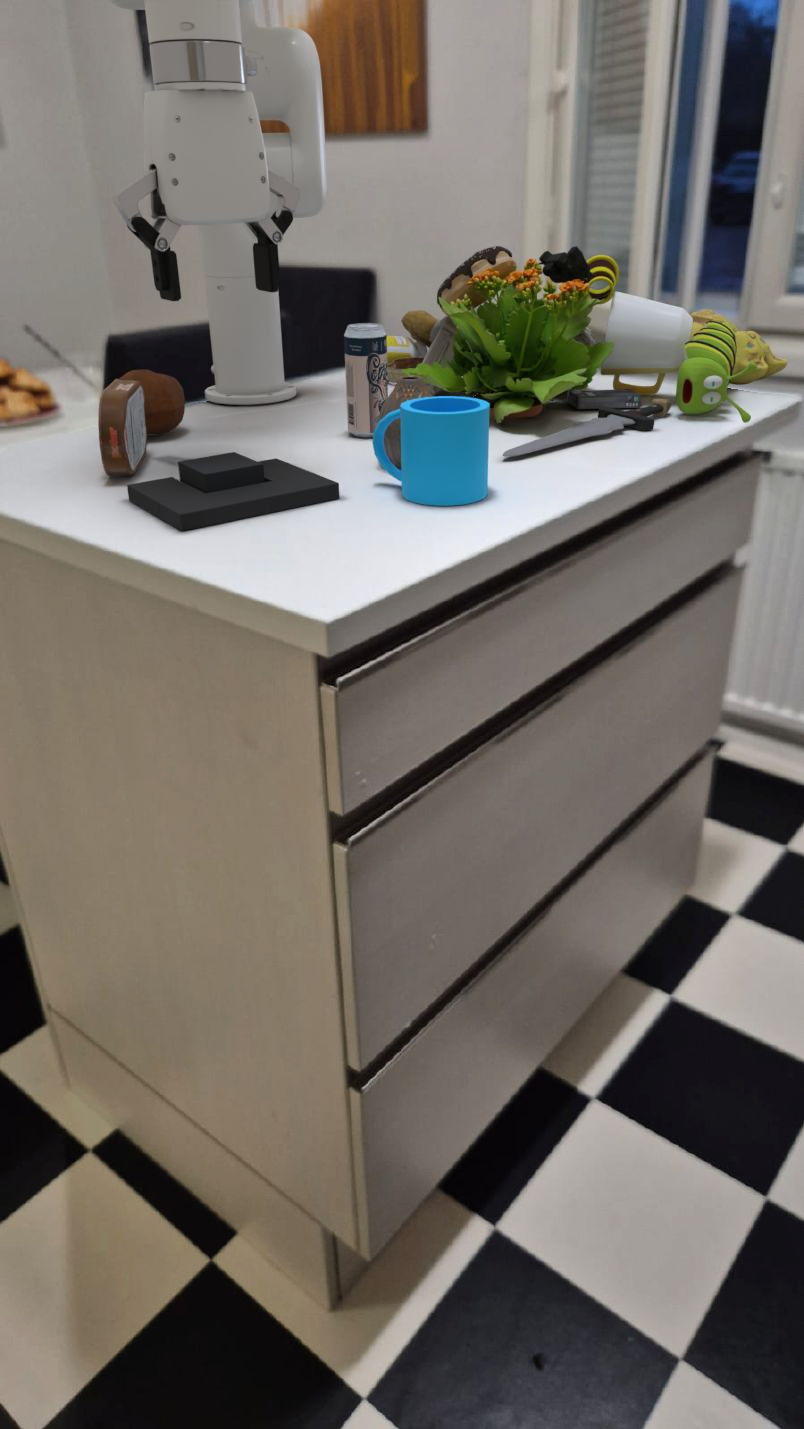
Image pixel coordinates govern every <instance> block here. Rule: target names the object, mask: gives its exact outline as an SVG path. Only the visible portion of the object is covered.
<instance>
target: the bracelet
mask: <svg viewBox="0 0 804 1429" xmlns="http://www.w3.org/2000/svg"><path fill="white" fill-rule="evenodd" d="M424 358H425V356H422V357H418V356H416V357H411V356H410V357H403V358H398V359H395V360H392V362H391V363H389V364H387V375H388V382H390V383H394V384H396V383H397V381H398V378H399V377H401V376H408V375H406V374H404V373H403V372H402V370H404V369H408V368H413V369H414V368H416V367H417V365H418V364H420V363H422V362H423V360H424Z"/></svg>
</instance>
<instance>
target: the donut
mask: <svg viewBox="0 0 804 1429" xmlns="http://www.w3.org/2000/svg"><path fill="white" fill-rule="evenodd" d="M489 268H490V269H494V270H495V271H497V272H498V271H499V278H500V280H504V279H505V278H506V277H508V276H509V277H510V274H511V273H513V271H516V270H517V268H518V265H517V262H516V261H515V260H514V258H513V253H512V252H511V251H510V250H509V249H508V248H506V247H503V246H501V245H493V246H490V247H485V248H484V249H481V250H478V251H476V252H475V253H473V254H472V255H470V256H469V258H466V259H465V260H464V261H463V262H462V263H460V264H459V265H458V267H456V268H454V270H453V272H451V273H449V275H448V276H447V277H445V280H443V282H442V283H441V284H440V286H439V287H438V288H437V292H436V303H437V305H438V306H439V308H440V310H441V311H442V313H443V314H445V316H446V315H447V314H446V312H445V311H444V310H443V309H442V306H441V304H440V303H439V297H441V298H444V299H445V300H446V302H447V303H449V305H451V302H454V303H455V304H456V300H457V299H460V301H462V300H464V295H465V294H467V296H468V299H470V302H471V301H472V303H471V306H470V307H468V308H467V309H469V308H470V309H469V311H471V307H473V308H476V307H478V306H480V305H483V303H484V302H485V301H487V300H485V299H484V298H486V299H488V298H487V297H486V295H485V294H484V293H483V292H482V291H480V290H475V289H474V288H473V287H474V286H473V284H470V285H467V284H468V282H469V281H471V278H472V277H473V276H474V275H476V274H477V273H478V274H480V275H481V273H482V274H483V273H484V271H486V270H487V269H489ZM489 290H490V289H488V293H487V291H486V290H485V288H484V291H485V293H486V294H487V295H488V294H489ZM495 290H496V289H495ZM500 292H501V289H500V287H499V291H498V293H500ZM481 295H482V296H483V297H484V298H483V297H481ZM487 302H488V301H487Z"/></svg>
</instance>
